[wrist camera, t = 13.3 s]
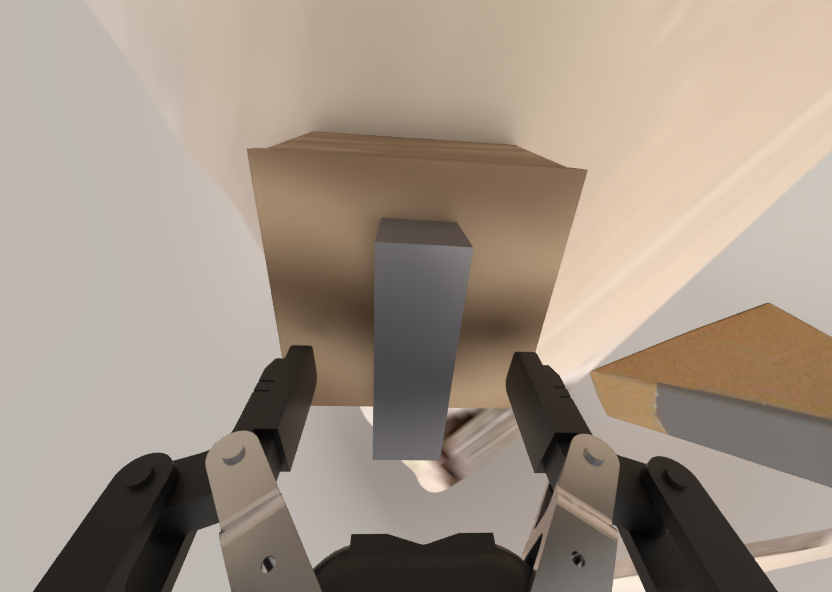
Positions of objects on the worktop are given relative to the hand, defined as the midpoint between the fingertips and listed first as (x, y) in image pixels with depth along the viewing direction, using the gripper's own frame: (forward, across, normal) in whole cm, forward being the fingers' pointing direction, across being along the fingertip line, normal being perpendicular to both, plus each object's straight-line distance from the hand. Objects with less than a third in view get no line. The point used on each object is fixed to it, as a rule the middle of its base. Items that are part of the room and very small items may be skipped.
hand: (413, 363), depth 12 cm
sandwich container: (+12, -26, +11) cm, 31 cm away
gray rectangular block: (+2, 0, 0) cm, 2 cm away
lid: (+3, 0, -1) cm, 4 cm away
